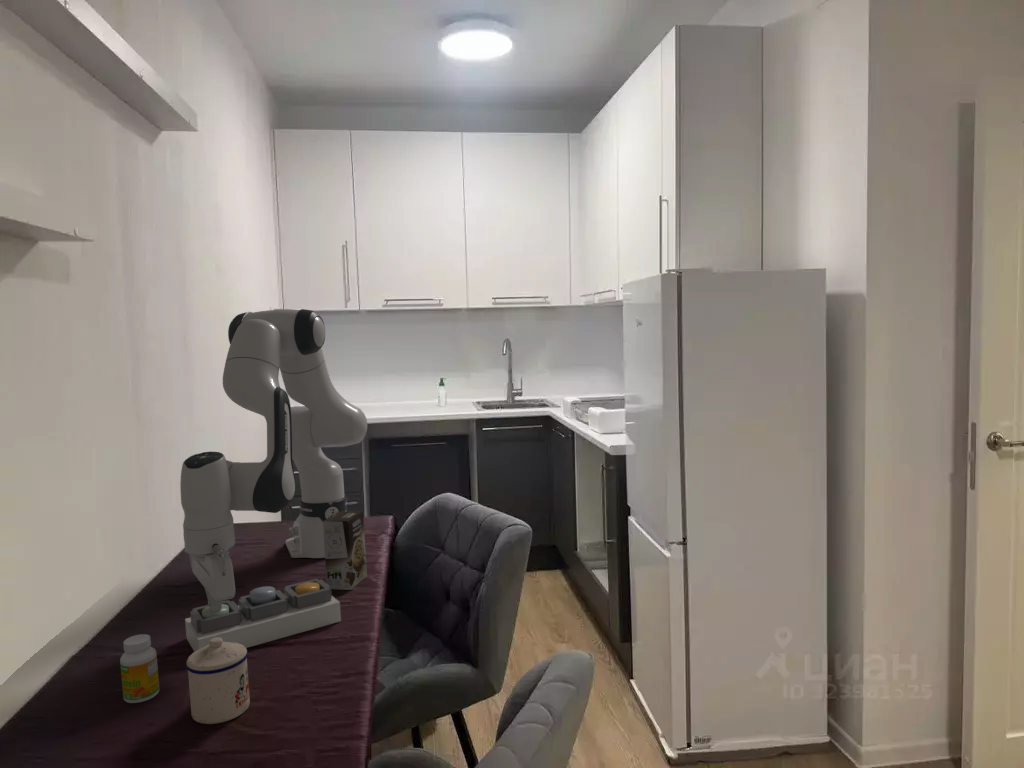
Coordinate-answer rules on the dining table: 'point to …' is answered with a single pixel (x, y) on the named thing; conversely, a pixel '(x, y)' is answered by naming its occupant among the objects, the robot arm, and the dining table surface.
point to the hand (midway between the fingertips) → (215, 609)
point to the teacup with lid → (218, 682)
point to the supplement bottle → (139, 669)
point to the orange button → (306, 588)
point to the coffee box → (345, 549)
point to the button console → (265, 618)
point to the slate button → (262, 595)
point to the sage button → (208, 612)
